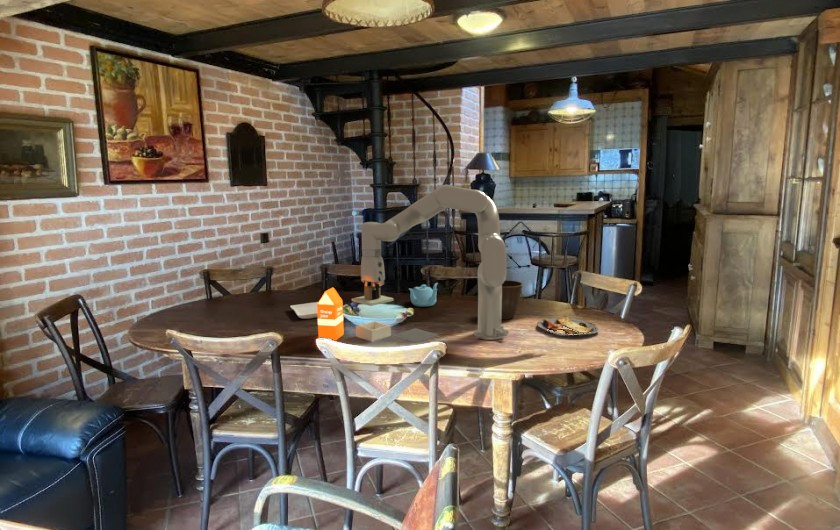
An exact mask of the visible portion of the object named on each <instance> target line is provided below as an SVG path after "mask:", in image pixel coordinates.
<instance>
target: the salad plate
mask: <svg viewBox="0 0 840 530" xmlns="http://www.w3.org/2000/svg"><path fill="white" fill-rule="evenodd" d="M318 302H319V301H315V302H306V303H300V304H293V305H290V309H292V311H293V312H294V313H295V314H296V316H297V318H300V319H302V320H305V319H306V320H307V319H308V320H309V319H315V318H317V319H318V314H317V304H318Z"/></svg>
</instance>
